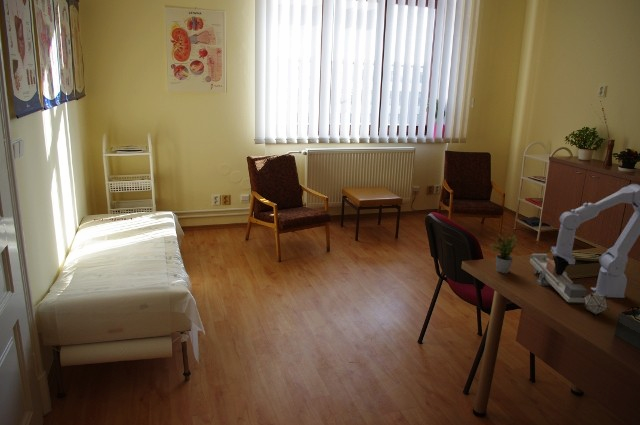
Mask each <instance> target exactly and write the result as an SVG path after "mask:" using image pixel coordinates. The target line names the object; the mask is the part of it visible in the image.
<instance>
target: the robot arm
mask: <svg viewBox="0 0 640 425" xmlns="http://www.w3.org/2000/svg"><path fill="white" fill-rule="evenodd" d="M621 203H623V204H628V205H629V204H630V205H632V207H633V209H634V211H633V214H632V215H631V217H630V218H629V221H628V222H627V224H625V227H624V229H623V230H622V232H621V234H620V235H619V236H618V238H617V239H616V242H615V243H614V245H613V246H611V247H610V248H608V249H607V250H606V252H604V253H603V254H601V255H600V257H599V259H598V262H599V264H600V268H599V272H598V277H597V281H596V286H595V287H590V290H591V291H593V293H594V292H595V290H596V292H597V293H599V294H601V295H603V296H607V297H606V298H621V299H623V298H626V296H625V292H626V289H627V283H628V279H627V275H626V274H625V273H624V272H625V271H626V268H627V267H626V265H627V263H628V262H629V259H628V258H629V257H628V256H629V255H628V254H629V253H630V251H631V249H632V248H633V246H634V244H635V243H636V241H637V240H638V238H639V236H640V184H638V183H631V184H629V185H627V186H624V187H622V188H620V189H619V190H618V191H616V192H615V193H612V194H610V195H608V196H606V197H605V198H602V199H601V200H598V201H597V202H595V203H594V202H593V203H592V202H588V203H587V202H584V203H583V204H582V205H581V206H579V207H577V208H575V209H574V208H573V209H570V211H564V212H563V213H562V214H561V215H560V217H558V220H559V223H560V226H559V229H558V230H559V231H558V235H557V240H556V246H551V249H550V251H551V253H552V254H553V256H552V260H554V262H555V269H556V274H557V275H562V274H563V272H564V271H566V269H567V267H568V266H569V265H575V264H576V259H575V258H574V256H573V254H572V252H573V247H574V243H575V242H574V241H575V236H576V231H577V229H578V228H579V227H580V225H581V224H583V223H584V222H587V221H588V220H589V221H590V220H591V219H593V218H595V217H598V215H599V214H600V212H602V211H604V210H606V209H609V208H611V207H614V206H616V205H619V204H621Z"/></svg>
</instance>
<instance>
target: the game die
mask: <svg viewBox="0 0 640 425" xmlns="http://www.w3.org/2000/svg"><path fill="white" fill-rule="evenodd" d="M582 297H583V298H584V301H585V303H584V306H583V307H584V311H586V310H587V311H590V312H591V313H593V314H594V316H595V317H597V315H599V314H600V313H602V312H605V311H606V310H608V311H611V308H608V303H607V298H608V297H607V296H603V295H601V294H599V293H597V292H596V290H595V292H594V291H593V292H591V293H589V294H586V296H585V297H584V296H582Z"/></svg>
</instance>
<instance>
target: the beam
mask: <svg viewBox="0 0 640 425" xmlns="http://www.w3.org/2000/svg"><path fill="white" fill-rule="evenodd" d="M548 260H550V258H548V254H547V253H531V257H530V259H529V263H530V264H531V265H532V266H533V268H534V269H535V268H536V269H537V270H538V271H539V272H540V271H544V272H545V277H544V280H547V281H548V282H549V283H550V284H551V285H552V286H551V287H553V289H555V291H556V292H557V293H559V295H560V296H561V297H562V298H563V299H564V301H565V300H566V301H567V302H582V303H584V304H585V301H584V298H583V297H582V296H584V297H585V296H587V291H588V289H587V288H586V287H585V286H584V285H583V284H575V283H574V282H573V280H571V279H570V277H568V275H567V276H566V275H565V274H564V273H563V274H562V275H560V277H554V276H553V275H552V274H551V273H550V272H549V271H548V270H547V269H546V265H547V261H548ZM566 301H565V302H566ZM567 302H566V303H567Z"/></svg>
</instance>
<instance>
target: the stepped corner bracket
mask: <svg viewBox="0 0 640 425" xmlns="http://www.w3.org/2000/svg"><path fill="white" fill-rule="evenodd" d="M533 272H534V273H535V274H537V275H538V274H539V273H540V274H539V275H538V279H536V283H537V284H538V285H539V286H540V287H541V286H546V287H548V286H549V287H553V286H552V285H551V284H550V283H549V282H548V281H547V280H546V279H545V278H544V277H545V272H544V271H540V272H539V271H538V270H537V269H536V268H535V267H534V270H533ZM563 273H564V274H565V275H566V276H567V277H568V272H566V270H564V272H563ZM564 302H566V303H567V301H566V300H565V299H564ZM567 304H568V305H581V306H582V305H583V302H568V303H567Z"/></svg>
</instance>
